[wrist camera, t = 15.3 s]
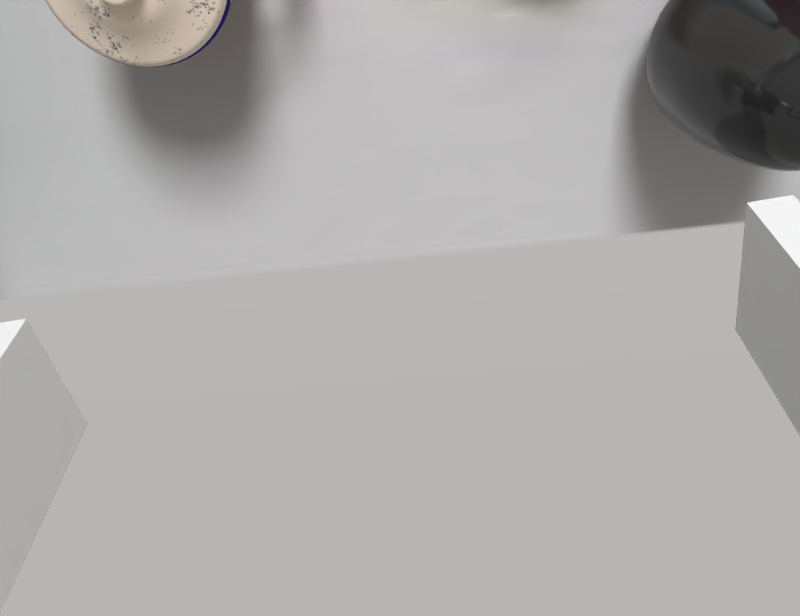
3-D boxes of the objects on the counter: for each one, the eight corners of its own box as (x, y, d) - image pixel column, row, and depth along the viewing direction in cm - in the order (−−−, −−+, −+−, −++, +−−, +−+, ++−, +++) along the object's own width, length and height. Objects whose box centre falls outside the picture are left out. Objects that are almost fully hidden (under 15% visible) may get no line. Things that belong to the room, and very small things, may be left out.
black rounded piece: (812, 81, 47) (962, 196, 35) (642, 133, 49) (726, 258, 36) (809, -95, 41) (986, -34, 29) (616, -29, 43) (706, 54, 31)
